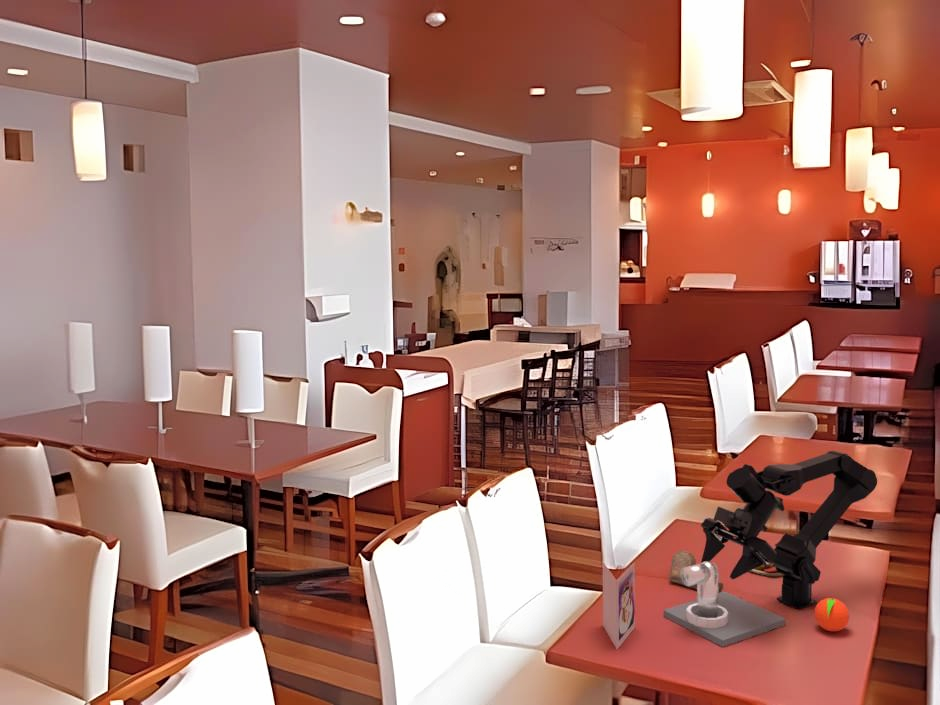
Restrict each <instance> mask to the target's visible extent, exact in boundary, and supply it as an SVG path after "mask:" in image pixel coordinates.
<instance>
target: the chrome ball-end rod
mask: <svg viewBox="0 0 940 705" xmlns="http://www.w3.org/2000/svg"><path fill="white" fill-rule="evenodd" d="M719 575H720V574H719V567H718V566H717V565H716V564H715V563H714V562H712V561H705V562H702V563H701V562H700V563H698V564H697V563H696V565H693V566H688V567H684V568H682V569H681V571H680V577H681V580H682V582H683V584H684V585H683V586H685V585H686V586H685V587H687V586H692V585H696V584H697V589H696V590H697V591H696V600H697V616H700V617H705V618H717V617H718V587H719V582H720V581H719V578H720V577H719Z"/></svg>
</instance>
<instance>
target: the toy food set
mask: <svg viewBox="0 0 940 705" xmlns="http://www.w3.org/2000/svg"><path fill="white" fill-rule="evenodd" d="M766 563H767V562H766ZM750 571H751V572H750ZM750 571H749V572H750V573H752V572H754V573H753V574H755V573H757V574H756V575H759V574H761V575H760V576H764V575H766V577H783V576H784V575H783V574H781V573H778V572H776V568H775V565H774V563H773V564H772V565H771V564H769V563H767V564H766V566H765V565H761V566H759V567H757V568H755V569H752V570H750Z"/></svg>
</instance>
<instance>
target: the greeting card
mask: <svg viewBox="0 0 940 705" xmlns="http://www.w3.org/2000/svg"><path fill="white" fill-rule="evenodd" d="M635 576H636V575H635V562H633V563H632V564H631V565H630V566H629V567H628V568H627V569H626V570H625V571H624V572H623V573H622V574H621V575H620V576H619V578H618V579H616V578H615V577H614V575H613V573H612V572H611V571H610V569H609V567H608V566H607V565H606V563H605V562H604V561H602V627H603V628H604V630H605V632H606V634H607V635H608V637H609V638H610V640H611V642H612V643H613V646H614V647H615V649H616V650H618V649H619V647H620V646H622V644H623V643H625V640H626V639H627V638H628V637H629V635H631V633H632V632H633V630H634V629H635V626H636V624H635V620H636V618H635V614H636V613H635V603H636V600H635V597H636V596H635V592H636V591H635V588H636V587H635V583H636V582H635Z"/></svg>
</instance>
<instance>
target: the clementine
mask: <svg viewBox="0 0 940 705" xmlns="http://www.w3.org/2000/svg"><path fill="white" fill-rule="evenodd" d="M849 614H850V613H849V608H847V606H846V605H845V603H844V602H842V601H841V600H839V599H837V598H834V597H826V598H823V599H822V600H820V601H819V602H818V603H816V605H815V608H814V618H815V620H816V622H817V623H818V625H819V626H820V627H821V628H823V630H825V631H829V632H839V631H841V630H843V629H845V628H846V627H847V625H848V623H849V620H850V615H849Z"/></svg>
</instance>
